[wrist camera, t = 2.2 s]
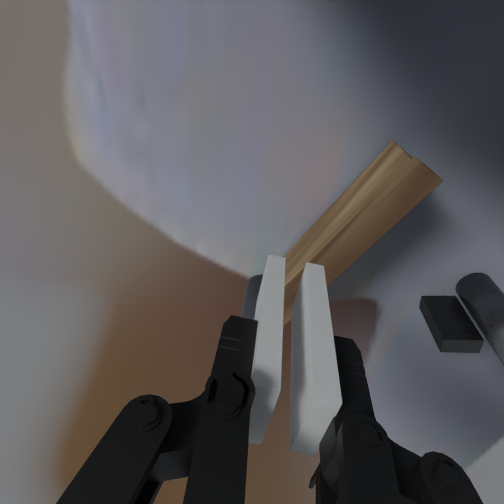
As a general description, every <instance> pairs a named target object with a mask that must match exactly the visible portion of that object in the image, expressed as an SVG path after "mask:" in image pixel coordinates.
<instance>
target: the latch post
mask: <svg viewBox="0 0 504 504" xmlns="http://www.w3.org/2000/svg"><path fill="white" fill-rule="evenodd" d="M456 293H457V294H458V296H459V297H460V299H461V300H462V302H463V303H464V305H465V307H466V308H467V310H468V311H469V313H470V314H471V316H472V317H473V319H474V320H475V322H476V323H477V325H478V327H479V328H480V330H481V331H482V333H483V334H484V336H485V337H486V339H487V340H488V342H489V343H490V345H491V346H492V348H493V350H494V351H495V353H496V354H497V356H498V357H499V359H500V360H501V362H502V363H503V365H504V294H503V292H502V291H501V290H500V289H499V288H498V286H497V285H496V284H495V283H494V282H493V280H492V279H491V278H490V277H489V276H488V275H486V274H483V273H472V274H469V275H467V276H465V277H463V278H462V279H461V280H460V281H459V282H458V283H457V285H456ZM419 308H420V310H421V312H422V314H423V316H424V318H425V321H426V323H427V325H428V327H429V329H430V331H431V333H432V335H433V337H434V340H435V342H436V344H437V346H438V348H439V350H440V352H465V353H479V352H480V350H481V347H482V344H483V342H484V340H483V338H482V337H481V335H480V333H479V332H478V330H477V329H476V327H475V326H474V324H473V322H472V321H471V319H470V318H469V316H468V315H467V313H466V312H465V310H464V308H463V307H462V305H461V304H460V302H459V301H458V299H457V297H456V296H422V297H421V302H420V306H419Z"/></svg>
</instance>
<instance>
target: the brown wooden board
mask: <svg viewBox="0 0 504 504" xmlns="http://www.w3.org/2000/svg"><path fill="white" fill-rule="evenodd" d="M441 182H443V180H442V179H441V178H440V177H438V176H437V175H436V174H435V173H434V172H433V171H432V170H431V169H429V168H428V167H427V166H426V165H425V164H423V163H422V162H421V161H420V160H419V159H418V158H416V157H414V158H412V157H411V156H410V155H409V154H408V153H407V152H406V151H405V150H404V149H402V148H401V147H400V146H399V145H398V144H397V143H395V142H394V141H393V140H392V141H391V142H390V143H389V144H388V146H387V147H386V148H385V149H384V150H383V151H382V152H381V153H380V154H379V155H378V156H377V157H376V158H375V159H374V161H373V162H372V163H371V164H370V165H369V166H368V167H367V168H366V169H365V170H364V171H363V172H362V173H361V174H360V175H359V177H358V178H357V179H356V180H355V181H354V182H353V183H352V184H351V185H350V186H349V187H348V188H347V189H346V190H345V191H344V193H343V194H342V195H341V196H340V197H339V198H338V199H337V200H336V201H335V202H334V203H333V204H332V205H331V206H330V208H329V209H328V210H327V211H326V212H325V213H324V214H323V215H322V216H321V217H320V218H319V219H318V220H317V221H316V222H315V224H314V225H313V226H312V227H311V228H310V229H309V230H308V231H307V232H306V233H305V234H304V235H303V236H302V237H301V238H300V240H299V241H298V242H297V243H296V244H295V245H294V246H293V247H292V248H291V249H290V250H289V251H288V252H287V253H286V255H285V256H284V258H286V259H285V285H284V311H283V326H284V325H285V324H286V323H287V322H288V321H290V320H291V316H292V306H293V303H294V300H295V297H296V294H297V291H298V288H299V284H300V281H301V278H302V275H303V272H304V269H305V266H306V263H307V262H308V263H313V264H317V265H322V266H324V270H325V278H326V285H327V286H328V285H329V284H330V283H331V282H333V281H334V280H335V279H336V278H337V277H338V276H339V275H340V274H341V273H342V272H344V271H345V270H346V269H347V268H348V267H349V266H350V265H351V264H352V263H353V262H355V261H356V260H357V259H358V258H359V257H360V256H361V255H362V254H363V253H364V252H366V251H367V250H368V249H369V248H370V247H371V246H372V245H373V244H374V243H375V242H377V241H378V240H379V239H380V238H381V237H382V236H383V235H384V234H385V233H386V232H388V231H389V230H390V229H391V228H392V227H393V226H394V225H395V224H396V223H397V222H399V221H400V220H401V219H402V218H403V217H404V216H405V215H406V214H407V213H408V212H410V211H411V210H412V209H413V208H414V207H415V206H416V205H417V204H418V203H419V202H421V201H422V200H423V199H424V198H425V197H426V196H427V195H428V194H429V193H430V192H432V191H433V190H434V189H435V188H436V187H437V186H438V185H439V184H440V183H441Z"/></svg>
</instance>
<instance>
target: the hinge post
mask: <svg viewBox="0 0 504 504" xmlns="http://www.w3.org/2000/svg"><path fill="white" fill-rule="evenodd" d="M262 278H263V275H256V276H253V277H252V278H250V279H249V281H248V283H247V287H246V292H245V297H244V302H243V307H242V313H241V317H243V318H248V319H252V320H254V317H255V310H256V303H257V299H258V295H259V290H260V286H261V282H262Z"/></svg>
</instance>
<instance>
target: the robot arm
mask: <svg viewBox="0 0 504 504" xmlns="http://www.w3.org/2000/svg"><path fill="white" fill-rule="evenodd" d="M285 259H286V258H284V257H279V256H274V255H269V254H268V257H267V262H266V266H265V270H264V274H263V278H262V282H261V286H260V290H259V295H258V299H257V303H256V310H255V317H254V320H252V319H248V318H243V317H238V316H233V315H232V316H230V318H229V319H228V320H227V321H226V322H225V323H224V324H223V328H222V332H221V337H220V340H219V344H218V348H217V352H216V356H215V360H214V364H213V368H212V372H211V376H210V377H209V378H208V381H207V383H206V386H205V391H204V392H203V393H202V394H201V395H200V396H198V397H197V398H195V399H193V400H191V401H187V402H181V403H172V404H168V402H167V401H166V400H164V399H163V398H161V397H160V396H155V395H151V394H150V395H143V396H139V397H137V398H135V399H133V400H131V401H130V402H129V403H128V404H127V405H126V406H125V407H124V408H123V409H122V411H121V412H120V414H119V415H118V416H117V418H116V419H115V421H114V422H113V423H112V425H111V426H110V428H109V429H108V431H107V432H106V433H105V435H104V436H103V438H102V439H101V440H100V442H99V443H98V445H97V446H96V448H95V449H94V451H93V452H92V453H91V455H90V456H89V458H88V459H87V460H86V462H85V463H84V465H83V466H82V468H81V469H80V470H79V472H78V473H77V475H76V476H75V477H74V479H73V480H72V482H71V483H70V484H69V486H68V487H67V489H66V490H65V492H64V493H63V495H62V496H61V497H60V499H59V500H58V502H57V503H56V504H153V502H154V500H155V498H156V495H157V494H158V491H159V490H160V488H161V485H162V483H163V481H166V480H172V479H178V478H183V477H188V481H187V486H186V491H185V496H184V501H183V504H244V502H245V487H246V486H245V485H246V471H247V456H248V442H250V443H255V444H260V445H261V443H262V441H263V438H264V435H265V432H266V430H267V427H268V424H269V421H270V418H271V415H272V413H273V410H274V407H275V404H276V402H277V399H278V396H279V393H280V389H281V363H282V336H283V311H284V285H285ZM290 437H291V441H290V442H291V443H290V451H294V452H299V453H304V454H309V455H313V456H314V455H315V454H316V452H317V450H318V448H319V447H320V448H319V449H320V464H319V465H318V467H317V469H316V471H315V472H314V474H313V476H312V478H311V480H310V485H309V488H311V489H312V488H313V487H314V485H315V483H316V504H483V502H482V500H481V499H480V497H479V495H478V493H477V491H476V490H475V488H474V486H473V484H472V482H471V481H470V479H469V477H468V476H467V474H466V473H465V472H464V470H463V469H462V467H460V466H459V465H458V464H457V463H456V462H455V461H454V460H453V459H451V458H450V457H448V456H446V455H444V454H442V453H438V452H433V451H432V452H429V453H425V454H424V456H423V457H420V456H418V455H416V454H414V453H413V452H411V451H409V450H407V449H405V448H403V447H401V446H399V445H398V444H396V443H395V442H393V441H392V440H391V439H390V438H388V436H387V433H386V431H385V430H384V429H383V427H382V426H381V425H380V424H379V423H378V422H377V421H376V419H375V416H374V411H373V407H372V402H371V397H370V393H369V388H368V384H367V379H366V377H365V370H364V366H363V360H362V356H361V352H360V350H359V348H358V347H357V345H356V344H355V342H354V341H353V339H349V338H344V337H339V336H334V335H333V330H332V323H331V315H330V308H329V300H328V293H327V285H326V278H325V270H324V266H322V265H317V264H313V263H308V262H307V263H306V266H305V269H304V272H303V275H302V278H301V281H300V284H299V288H298V291H297V294H296V297H295V300H294V303H293V306H292V316H291V436H290Z"/></svg>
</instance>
